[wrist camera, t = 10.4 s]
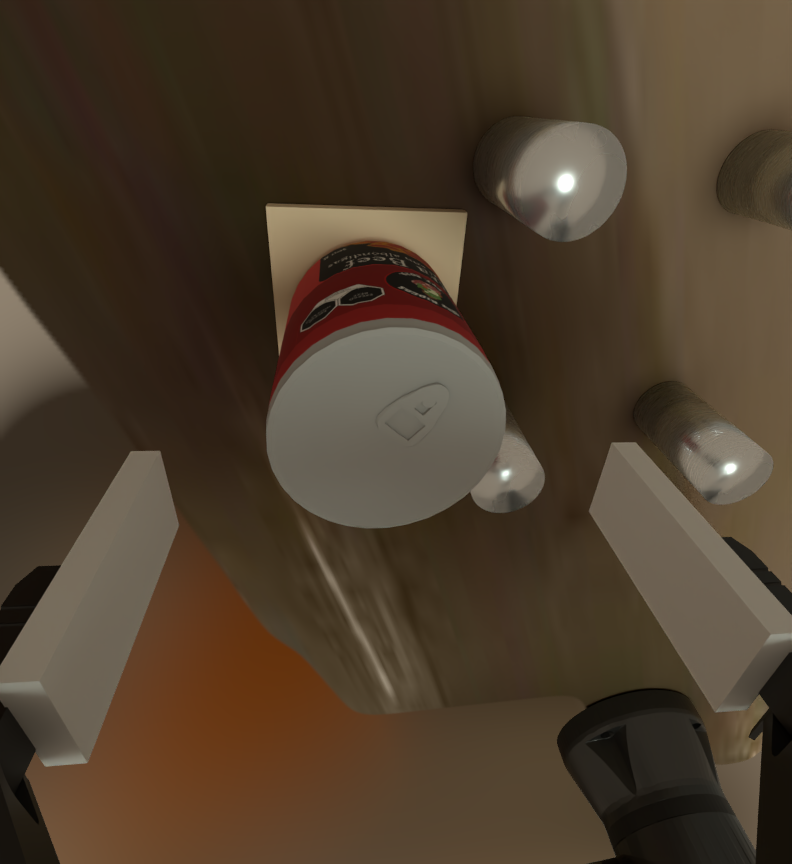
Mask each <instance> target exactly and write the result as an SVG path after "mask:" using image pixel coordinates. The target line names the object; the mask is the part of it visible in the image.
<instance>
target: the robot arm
mask: <svg viewBox="0 0 792 864" xmlns="http://www.w3.org/2000/svg"><path fill="white" fill-rule="evenodd" d="M589 513H590V514H591V516H592V517H593V519H594V520H595V522H596V524H597V525H598V527H599V528H600V530H601V532H602V533H603V535H604V536H605V538H606V540H607V541H608V543H609V544H610V546H611V548H612V549H613V551H614V552H615V554H616V555H617V557H618V559H619V560H620V562H621V563H622V565H623V567H624V568H625V570H626V571H627V573H628V575H629V576H630V578H631V579H632V581H633V583H634V584H635V586H636V587H637V589H638V590H639V592H640V594H641V595H642V597H643V598H644V600H645V602H646V603H647V605H648V606H649V608H650V610H651V611H652V613H653V614H654V616H655V618H656V619H657V621H658V622H659V624H660V625H661V627H662V629H663V630H664V632H665V633H666V635H667V637H668V638H669V640H670V641H671V643H672V645H673V646H674V648H675V649H676V651H677V652H678V654H679V656H680V657H681V659H682V660H683V662H684V664H685V665H686V667H687V668H688V670H689V672H690V673H691V675H692V676H693V678H694V680H695V681H696V683H697V684H698V686H699V687H700V689H701V691H702V692H703V694H704V695H705V697H706V699H707V700H708V702H709V703H710V705H711V707H712V708H713V710H714V711H715V712H726V711H739V710H747V709H748V708H749V707H750V705H751V704H752V703H753V701H754V700H755V699H756V697H757V696H758V695H759V694H760V696H761V697H762V698H763V700H764V701H765V702H766V704H767V705H768V707H769V709H768V710H767V712H766V713H765V714H764V715H763V716H762V718H761V719H760V720H759V721H758V723H757V724H756V725H755V726H754V727H753V729H752V730H751V733H750V735H749V738H751V739H753V740H755V739H756V738H757V737H758V735H759V734H760V733H761V732H763V738H762V756H761V774H760V775H761V776H760V793H759V794H760V795H759V809H758V810H759V811H758V828H757V845H756V846H757V847H756V850H755V849H754V847H753V845H752V843H751V842H750V840H749V838H748V836H747V834H746V833H745V831H744V829H743V827H742V826H741V824H740V822H739V820H738V819H737V817H736V815H735V813H734V812H733V810H732V808H731V806H730V804H729V803H728V801H727V799H726V797H725V795H724V793H723V791H722V789H721V786H720V782H719V778H718V774H717V771H716V767H715V763H714V759H713V755H712V751H711V748H710V744H709V740H708V736H707V732H706V728H705V725H704V723H703V721H702V719H701V717H700V715H699V714H698V712H697V710H696V709H695V707H694V705H693V704H692V702H691V701H690V699H689V698H687V697H686V696H684V695H682V694H680V693H677V692H673V691H666V690H646V691H638V692H632V693H627V694H623V695H619V696H616V697H613V698H610V699H607V700H604V701H602V702H599V703H597V704H595V705H593V706H591V707H589V708H587V709H585V710H584V711H582V712H581V713H579V714H577V715H576V716H575V717H573V718H572V719H571V720H570V721H569V722H568V723H567V724H566V725H565V726H564V727H563V728H562V730H561V731H560V733H559V735H558V739H557V744H558V747H559V750H560V753H561V756H562V759H563V762H564V765H565V767H566V769H567V770H568V772H569V773H570V775H571V776H572V778H573V779H574V781H575V782H576V784H577V785H578V787H579V788H580V790H581V791H582V793H583V794H584V796H585V797H586V798H587V800H588V802H589V803H590V805H591V806H592V808H593V809H594V811H595V812H596V814H597V815H598V816H599V818H600V819H601V821H602V822H603V824H604V826H605V828H606V831H607V834H608V836H609V839H610V842H611V845H612V847H613V850H614V852H615V856H616V857H615V858H611V859H606V860H602V861H597V862H592V863H588V864H792V593H791V592H790V591H789V590H788V589H787V588H786V587H785V585H781V581H780V580H779V579H778V578H777V577H776V576H775V575H774V574H773V573H772V572H771V571H770V572H769V571H768V567H767V566H766V565H765V564H764V563H763V562H762V561H761V560H760V559H759V558H758V557H757V556H756V555H755V554H754V553H753V552H752V551H751V550H750V549H748V548H747V547H745V546H744V545H742V544H741V543H739V542H738V541H736V540H735V539H733V538H732V537H721V536H720V535H719V534H718V533H717V532H716V531H715V530H714V529H713V528H712V526H711V525H710V524H709V523H708V522H707V521H706V520H705V519H704V518H703V517H702V515H701V514H700V513H699V512H698V511H697V510H696V509H695V508H694V507H693V505H692V504H691V503H690V502H689V501H688V500H687V499H686V498H685V497H684V495H683V494H682V493H681V492H680V491H679V490H678V489H677V488H676V487H675V485H674V484H673V483H672V482H671V481H670V480H669V479H668V478H667V477H666V475H665V474H664V473H663V472H662V471H661V470H660V469H659V468H658V467H657V466H656V464H655V463H654V462H653V461H652V460H651V459H650V458H649V457H648V456H647V454H646V453H645V452H644V451H643V450H642V449H641V448H640V447H639V446H638V444H637V443H636V442H623V443H611V446H610V449H609V452H608V455H607V458H606V461H605V464H604V467H603V471H602V474H601V477H600V480H599V483H598V486H597V489H596V492H595V495H594V498H593V501H592V504H591V507H590V510H589ZM178 526H179V523H178V519H177V516H176V512H175V508H174V504H173V500H172V496H171V492H170V488H169V484H168V480H167V476H166V472H165V468H164V464H163V460H162V456H161V452H160V451H131V452H130V454H129V456H128V457H127V459H126V460H125V462H124V464H123V466H122V467H121V469H120V470H119V472H118V473H117V475H116V477H115V478H114V480H113V482H112V483H111V485H110V487H109V488H108V490H107V492H106V493H105V495H104V497H103V498H102V500H101V501H100V503H99V505H98V506H97V508H96V510H95V511H94V513H93V515H92V516H91V518H90V520H89V521H88V523H87V524H86V526H85V528H84V529H83V531H82V533H81V534H80V536H79V538H78V539H77V541H76V542H75V544H74V546H73V547H72V549H71V551H70V552H69V554H68V556H67V557H66V559H65V561H64V562H63V564H62V565H60V566H38V567H37V568H35V569H34V570H33V571H32V572H31V573H29V574H28V575H27V576H26V577H25V578H23V579H22V580H21V581H20V582H19V583H17V584H16V585H15V587H14V588H13V590H12V591H11V592H10V594H9V595H8V597H7V598H6V600H5V601H4V603H3V604H2V606H1V610H0V864H60V862H59V860H58V857H57V854H56V852H55V849H54V846H53V844H52V841H51V838H50V836H49V833H48V830H47V827H46V825H45V822H44V819H43V817H42V815H41V812H40V809H39V806H38V803H37V801H36V798H35V795H34V793H33V790H32V787H31V785H30V782H29V780H28V779H27V777H26V776H25V772H26V770H27V768H28V766H29V764H30V761H31V759H32V757H33V755H34V753H35V752H36V754H37V755H38V757H39V758H40V759H41V761H42V762H43V764H44V765H45V766H56V765H69V764H82V763H88V760H89V758H90V755H91V753H92V750H93V747H94V745H95V742H96V740H97V737H98V734H99V732H100V729H101V726H102V724H103V721H104V719H105V716H106V714H107V711H108V708H109V706H110V703H111V701H112V698H113V695H114V693H115V690H116V688H117V685H118V682H119V679H120V677H121V675H122V672H123V669H124V667H125V664H126V662H127V659H128V656H129V654H130V651H131V649H132V646H133V643H134V641H135V638H136V636H137V633H138V630H139V627H140V625H141V623H142V620H143V617H144V615H145V612H146V610H147V607H148V604H149V602H150V599H151V597H152V594H153V591H154V588H155V586H156V584H157V581H158V578H159V576H160V573H161V571H162V568H163V566H164V563H165V560H166V558H167V555H168V552H169V550H170V547H171V545H172V542H173V540H174V537H175V534H176V532H177V529H178Z"/></svg>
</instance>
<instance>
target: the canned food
mask: <svg viewBox="0 0 792 864" xmlns="http://www.w3.org/2000/svg"><path fill="white" fill-rule="evenodd" d="M505 424H506V408H505V403H504V398H503V393H502V390H501V388H500V383H499V381H498V379H497V376H496V374H495V372H494V370H493V368H492V366H491V364H490V362H489V360H488V359H487V357H486V355H485V353H484V351H483V349H482V347H481V346H480V344H479V342H478V341H477V339H476V337H475V336H474V334H473V333H472V331H471V329H470V328H469V326H468V324H467V323H466V321H465V319H464V318H463V316H462V315H461V313H460V311H459V310H458V308H457V306H456V305H455V303H454V302H453V300H452V298H451V297H450V295H449V293H448V292H447V290H446V288H445V287H444V285H443V284H442V282H441V280H440V279H439V277H438V275H437V274H436V273H435V272H434V270H433V269H432V268H431V267H430V265H429V264H428V263H427V262H426V261H425V260H423V259H422V258H421V257H420V256H418V255H417V254H416V253H414V252H412V251H410V250H408V249H406V248H404V247H402V246H400V245H396V244H392V243H388V242H381V241H364V242H358V243H352V244H349V245H346V246H343V247H341V248H338V249H335V250H334V251H332V252H330V253H329V254H327V255H326V256H324V257H322V258H321V259H319V260H318V261H317V262H316V263H315V264H314V265H313V266H312V267H311V268H310V269H309V270H308V271H307V272H306V274H305V275H304V277H303V278H302V280H301V281H300V282H299V284H298V286H297V288H296V291H295V293H294V295H293V297H292V300H291V305H290V309H289V314H288V318H287V323H286V328H285V332H284V337H283V341H282V346H281V350H280V355H279V359H278V364H277V368H276V373H275V378H274V382H273V387H272V392H271V397H270V402H269V410H268V415H267V419H266V440H267V453H268V457H269V460H270V464H271V467H272V470H273V472H274V474H275V476H276V478H277V479H278V481H279V483H280V485H281V486H282V488H283V489H284V490H285V491H286V492H287V493H288V494H289V495H290V496H291V498H292V499H293V500H294V501H296V502H297V503H298V504H300V505H301V506H302V507H304V508H305V509H306V510H308V511H309V512H311V513H313V514H315V515H317V516H319V517H321V518H323V519H326V520H328V521H331V522H335V523H338V524H342V525H345V526H352V527H360V528H389V527H395V526H401V525H407V524H410V523H413V522H417V521H420V520H423V519H426V518H429V517H431V516H433V515H435V514H437V513H439V512H441V511H443V510H445V509H447V508H449V507H450V506H452V505H453V504H455V503H456V502H457V501H459V500H460V499H462V498H463V497H465V496H466V495H467V494H468V493H469V492H470V491H471V490H472V489H473V488H474V487H475V486H476V485H477V484H478V483H479V482H480V481H481V480H482V478H483V477H484V476H485V474H486V473H487V472H488V470H489V469H490V468H491V466H492V464H493V462H494V460H495V458H496V456H497V454H498V452H499V451H500V448H501V444H502V440H503V437H504V433H505Z"/></svg>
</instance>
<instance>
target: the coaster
mask: <svg viewBox="0 0 792 864" xmlns="http://www.w3.org/2000/svg"><path fill="white" fill-rule="evenodd" d="M266 216H267V227H268V238H269V249H270V260H271V271H272V282H273V293H274V304H275V315H276V326H277V337H278V348H279V355H280V350H281V346H282V341H283V337H284V332H285V328H286V323H287V318H288V314H289V309H290V305H291V300H292V297H293V295H294V293H295V291H296V288H297V286H298V284H299V282H300V281H301V280H302V278H303V277H304V275H305V274H306V272H307V271H308V270H309V269H310V268H311V267H312V266H313V265H314V264H315V263H316V262H317V261H318V260H319V259H321V258H322V257H324V256H326V255H327V254H329V253H330V252H332V251H334V250H335V249H338V248H341V247H343V246H346V245H349V244H352V243H358V242H364V241H381V242H388V243H392V244H396V245H400V246H402V247H404V248H406V249H408V250H410V251H412V252H414V253H416V254H417V255H418V256H420V257H421V258H422V259H423V260H425V261H426V262H427V263H428V264H429V265H430V267H431V268H432V269H433V270H434V272H435V273H436V274H437V275H438V277H439V279H440V280H441V282H442V284H443V285H444V287H445V288H446V290H447V292H448V293H449V295H450V297H451V298H452V300H453V302H454V303H455V305H456V306H457V297H458V289H459V280H460V272H461V263H462V254H463V246H464V237H465V229H466V220H467V212H466V211H465V210H462V209H430V208H399V207H368V206H336V205H305V204H274V203H268V204H267V205H266Z"/></svg>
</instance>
